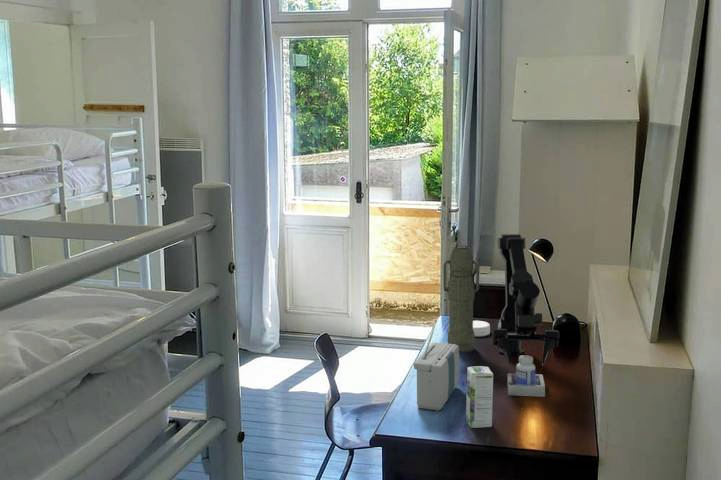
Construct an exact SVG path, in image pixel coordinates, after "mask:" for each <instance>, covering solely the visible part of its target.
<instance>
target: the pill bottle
mask: <svg viewBox="0 0 721 480" xmlns="http://www.w3.org/2000/svg"><path fill="white" fill-rule="evenodd" d="M515 366H516V367H515V374H516V384H524V385H535V374H536V365H535V364H534V357H533V356H531V355H529V354H528V355H527V354H526V355H523V354H522V355H518V363H516V365H515Z"/></svg>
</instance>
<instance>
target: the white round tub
mask: <svg viewBox="0 0 721 480" xmlns="http://www.w3.org/2000/svg"><path fill="white" fill-rule="evenodd" d="M473 331H474V337H485V336H489V335H490V333H491V325H490V323H489V322H487V321H482V320H473Z"/></svg>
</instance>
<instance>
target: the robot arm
mask: <svg viewBox="0 0 721 480" xmlns="http://www.w3.org/2000/svg"><path fill="white" fill-rule="evenodd" d="M497 249H499V254H500V256H501V258H502V260H503V261H504V284H505V285H504V287H505V306H504V307H503V309H502V311H501V314H500V315H501V316H500V318H499V321H498V324H497V325H498V326H497V328H494V329H493V331H492V345H493V346H497V348H498V349H501V350H499V351H498V354H504V356H505V358H506V360H507V362H508V365H512V364H511V363H512V358H511V356H513V357H514V356H515V357H519V356H520V355H521V354H522V353H523V352H525V349H524V348H521V341H523V342H526V341H527V342H543V349H542V355H541V357H542V358H541V366H545V362H546V359H547V357H548V354H549V353H550V350H554V348H558V347H559V343H560V332H559V331H558V329H557V330H556V329H545V331H544V334H541V333H540V334H539V333H538V334H536V333H537V326H542V325H543V313H540V312H537V313H536V311H535V310H536V308H535V307H536V306H537V303H538V300H539V295H540V291H541V290H540V287H539V286H538V285H537V284H536V282H534V278H533V275H532V274H531V273H529V271H528V270H527V264H526V259H525V257H526V256H525V251H524V250H525V249H526V237H522V235H521V234H520V233H519V234H514V233H513V234H503V233H502V234H501V235H500V237H497Z"/></svg>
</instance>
